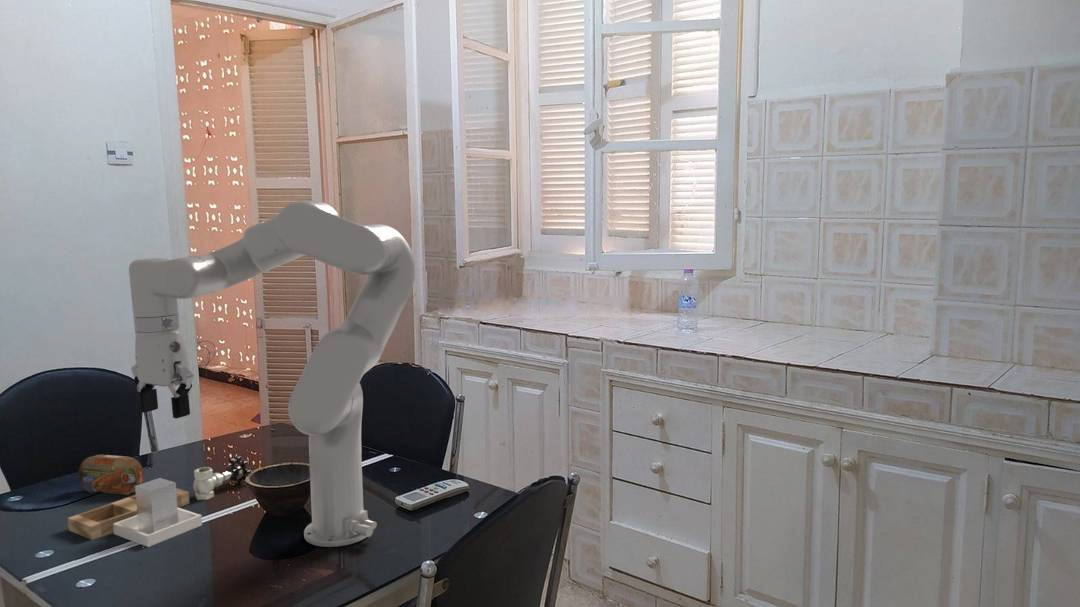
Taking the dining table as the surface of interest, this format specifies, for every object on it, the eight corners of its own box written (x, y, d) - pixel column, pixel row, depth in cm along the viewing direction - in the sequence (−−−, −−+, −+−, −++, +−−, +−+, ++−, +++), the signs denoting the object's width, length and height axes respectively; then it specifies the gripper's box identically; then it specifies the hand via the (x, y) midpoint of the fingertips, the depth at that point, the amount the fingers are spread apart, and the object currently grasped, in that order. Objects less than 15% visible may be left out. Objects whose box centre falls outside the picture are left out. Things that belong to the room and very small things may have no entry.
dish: (202, 527, 147) (201, 515, 147) (148, 549, 138) (147, 536, 137) (168, 515, 153) (167, 503, 152) (113, 536, 143) (112, 523, 143)
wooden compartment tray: (189, 505, 158) (188, 491, 157) (92, 542, 141) (90, 526, 140) (166, 498, 162) (165, 484, 161) (69, 532, 145) (67, 517, 144)
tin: (78, 492, 165) (75, 455, 164) (90, 487, 168) (87, 451, 167) (136, 498, 162) (134, 460, 161) (147, 493, 165) (145, 456, 164)
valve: (208, 505, 158) (252, 486, 169) (206, 475, 157) (250, 457, 168) (185, 500, 161) (230, 481, 172) (183, 470, 160) (228, 453, 171)
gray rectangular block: (178, 527, 146) (175, 482, 145) (154, 537, 142) (150, 491, 141) (163, 521, 148) (159, 477, 147) (138, 531, 144) (135, 486, 143)
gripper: (204, 324, 140) (212, 413, 142) (147, 319, 149) (156, 404, 151) (167, 330, 134) (176, 424, 136) (110, 325, 142) (119, 413, 144)
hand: (165, 413), depth 143 cm, fingers open, 9 cm apart
